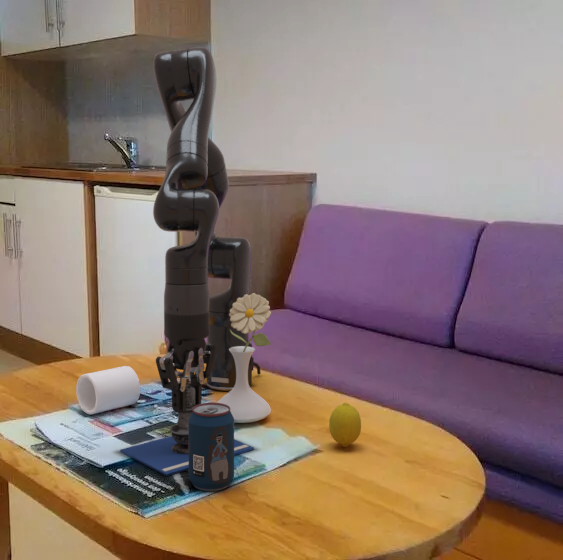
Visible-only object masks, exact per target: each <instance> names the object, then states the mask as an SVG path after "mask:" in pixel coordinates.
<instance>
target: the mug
mask: <svg viewBox="0 0 563 560" xmlns="http://www.w3.org/2000/svg"><path fill="white" fill-rule="evenodd" d="M75 394H76V399H77V403H78V404H79V408H80V409H81V410H82V411H83V412H84V413H85V414H87V415H90V416H91V415H96V414H100V413H104V412H108V411H112V410H115V409H120V408H124V407H128V406H131V405H135V404H136V403H137V402H138V401H139V398H140V395H141V383H140V379H139V376H138V374H137V371H135V370H134V368H132V367H131V366H128V365H123V366H118V367H117V366H116V367H113V368H108V369H103V370H98V371H97V370H96V371H94V372H88V373H84V374H81V375H80V376H79V377H78V379H77V382H76V387H75Z"/></svg>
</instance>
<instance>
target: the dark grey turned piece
mask: <svg viewBox="0 0 563 560" xmlns="http://www.w3.org/2000/svg"><path fill="white" fill-rule="evenodd" d="M188 384H190V382H189V380H186V386H185V390H184V391H186V410H185V412H183V413H179V412H177V422H176V423H175V424H172V425H171V426H170V427H169V431H170V432H171V436H172V437H173V439H174V440H175V441H176V442H177V443H176V444H175V445H174V446H172V451H173V452H176V453H179V454H189V417H190V415H191V413H192V412H193V411H192V409H193V407H194V406H196V404H195V389H194V387H192V386H190V385H188Z"/></svg>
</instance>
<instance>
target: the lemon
mask: <svg viewBox="0 0 563 560" xmlns="http://www.w3.org/2000/svg"><path fill="white" fill-rule="evenodd" d="M328 428H329V434H330V436H331V438H332V439H333V440H334V441H335V442H336V443H338V444H340V445H341V447H343V448H347V447H348V446H349V445H351V444H353V443H355V442H356V441H357V440H358V438H359V437H360V435H361V431H362V419H361V415H360V412H359V411H358V410H357V409H356V407H354V406H353V405H351V404H350V403H348V402H343V403H342V404H339V405H338V406H336V407H335V408H334V409H333V410H332V412H331V415H330V417H329V425H328Z"/></svg>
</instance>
